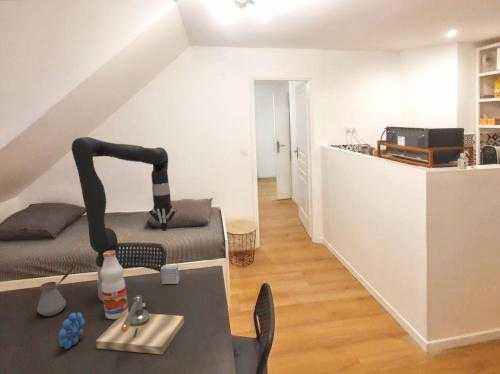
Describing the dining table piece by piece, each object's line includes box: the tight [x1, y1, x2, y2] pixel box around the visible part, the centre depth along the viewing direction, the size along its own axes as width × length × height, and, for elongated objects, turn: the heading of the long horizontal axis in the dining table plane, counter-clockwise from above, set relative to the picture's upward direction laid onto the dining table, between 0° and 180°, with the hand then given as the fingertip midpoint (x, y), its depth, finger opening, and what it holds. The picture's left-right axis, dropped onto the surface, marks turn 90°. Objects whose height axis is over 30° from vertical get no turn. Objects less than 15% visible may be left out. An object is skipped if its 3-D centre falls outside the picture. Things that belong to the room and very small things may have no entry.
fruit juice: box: [100, 250, 129, 320], centre depth 152 cm, size 9×9×28 cm
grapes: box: [58, 312, 85, 350], centre depth 134 cm, size 12×7×12 cm, turn 161°
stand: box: [95, 311, 185, 355], centre depth 138 cm, size 26×20×3 cm
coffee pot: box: [36, 266, 76, 317], centre depth 163 cm, size 21×12×15 cm, turn 162°
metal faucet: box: [121, 294, 150, 332], centre depth 134 cm, size 23×8×9 cm, turn 4°
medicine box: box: [160, 264, 180, 285], centre depth 181 cm, size 8×4×9 cm, turn 84°
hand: (164, 230), depth 163 cm, fingers closed
